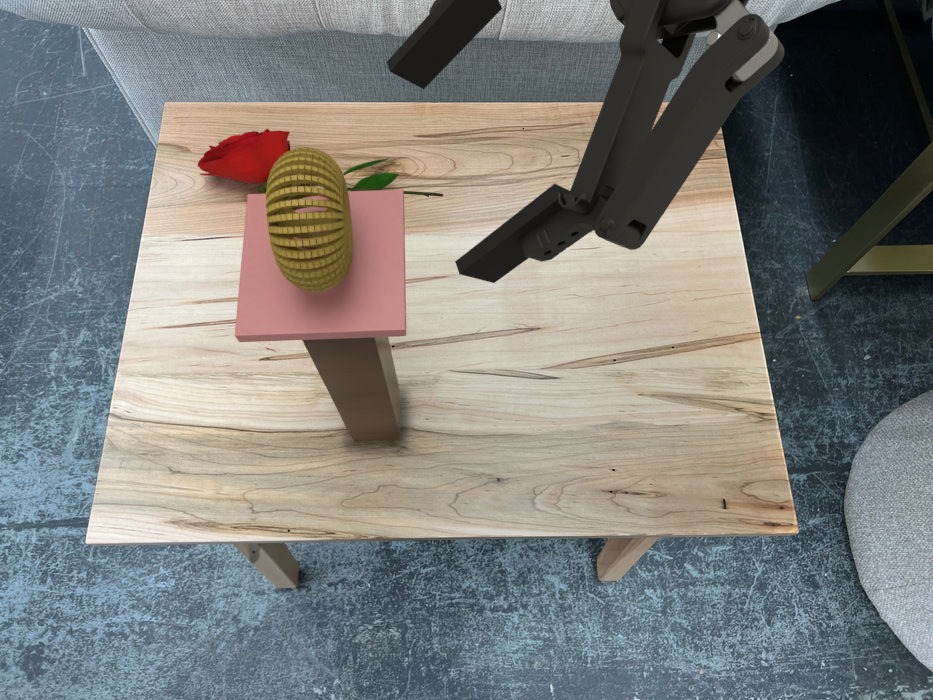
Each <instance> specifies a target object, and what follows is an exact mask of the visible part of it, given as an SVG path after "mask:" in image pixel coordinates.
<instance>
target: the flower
mask: <svg viewBox="0 0 933 700" xmlns="http://www.w3.org/2000/svg"><path fill="white" fill-rule="evenodd" d="M263 130H264V131H261V132H259V131H257V130H254V131H246V132H244V133H242V134H234V135H233V134H232V135H230V136H229V137H227V138H225V139H223V140H221V141H219V142H218V145H216V146H214V145H208V147H209V149H208V150H207V151H205V152H204V153H203V156H202V157H201V158H200V159H199V160H198V162H197V167H198V168H199V169H200V170H201V171H203V173H201V172H200V173H199V176H200V175H201V176H204V177H206V176H208V177H220V178H224V179H229V180H232V181H236V182H240V183H247V184H262V185H261V186H259V187H258V190H259V191H260V194H266V190H267V189H266V188H267V184H268V183H267V181H268V177H269V174H270V171H271V169H272V167H273V165H274V163H275V162H276V161H277V160H278V158H279V157H281V156H282V155H283V154H284V153H286V152H288V151H290V150H291V143H290V140H288V138H289V135H290V133H291V132H290V131H289V130H288V131H287V130H271V131H270V129H269V128H265V129H263ZM390 159H391V158H389V157H388V158H380V159H376V160H371V161H367V162H364V163H360V164H357V165H355V166H353V167H350V168H349V169H347V170H346V171H345V172H343V175H344V176H346V175H347V174H350V173H352V172H355V171H358V170H362V169H366V168H369V167H371V166H374V165H378V164H380V163H383V162H385V161H388V160H390ZM399 175H400V173H394V172H380V173H375V174H372V175H369V176H365V177H364V178H362V179H360V180H358V182H356V183H355V184H354V185H353V184H350V183H347V182H346V185H347V189H348V191H375V190H383V189H384V190H387V189H385V187H388V186H389V185H390V184H392V183H393V182H394V181H395V180H396V179H397V178H398V176H399ZM348 186H351V187H348ZM290 187H291V186H290ZM304 189H305V188H304ZM304 191H305V190H304ZM403 192H404V195H413V196H424V197H428V198H430V197H444V193H440V192H429V191H413V190H403Z"/></svg>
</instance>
